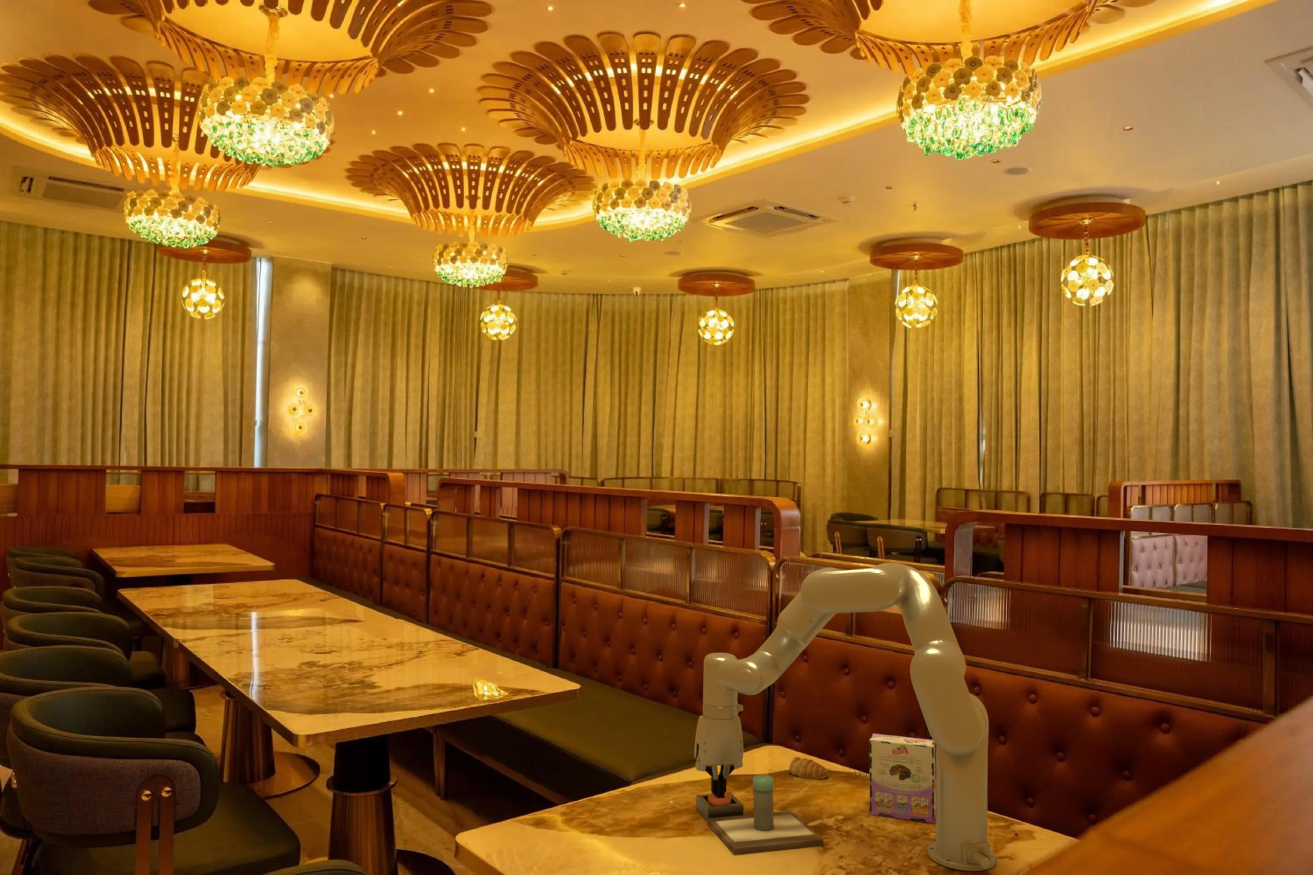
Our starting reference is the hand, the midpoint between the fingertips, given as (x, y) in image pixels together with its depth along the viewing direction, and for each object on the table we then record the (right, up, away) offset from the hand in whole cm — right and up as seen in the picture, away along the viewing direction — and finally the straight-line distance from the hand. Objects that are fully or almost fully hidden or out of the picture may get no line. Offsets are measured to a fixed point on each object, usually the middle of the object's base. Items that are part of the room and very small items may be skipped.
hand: (718, 795), depth 196 cm
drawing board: (+9, -3, -11) cm, 15 cm away
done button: (0, -2, 0) cm, 2 cm away
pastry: (+24, -6, +27) cm, 37 cm away
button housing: (0, -4, 0) cm, 4 cm away
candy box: (+40, -5, +1) cm, 41 cm away
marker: (+9, -2, -11) cm, 14 cm away
